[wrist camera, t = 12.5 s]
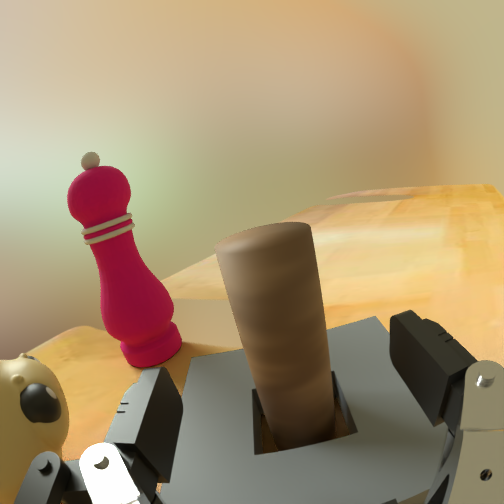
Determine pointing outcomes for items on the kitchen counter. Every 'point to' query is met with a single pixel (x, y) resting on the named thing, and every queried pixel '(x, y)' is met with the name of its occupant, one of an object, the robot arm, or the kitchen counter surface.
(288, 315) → the pin
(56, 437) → the beige animal figure
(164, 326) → the pepper mill
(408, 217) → the kitchen counter surface
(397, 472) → the socket
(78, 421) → the kitchen counter surface
